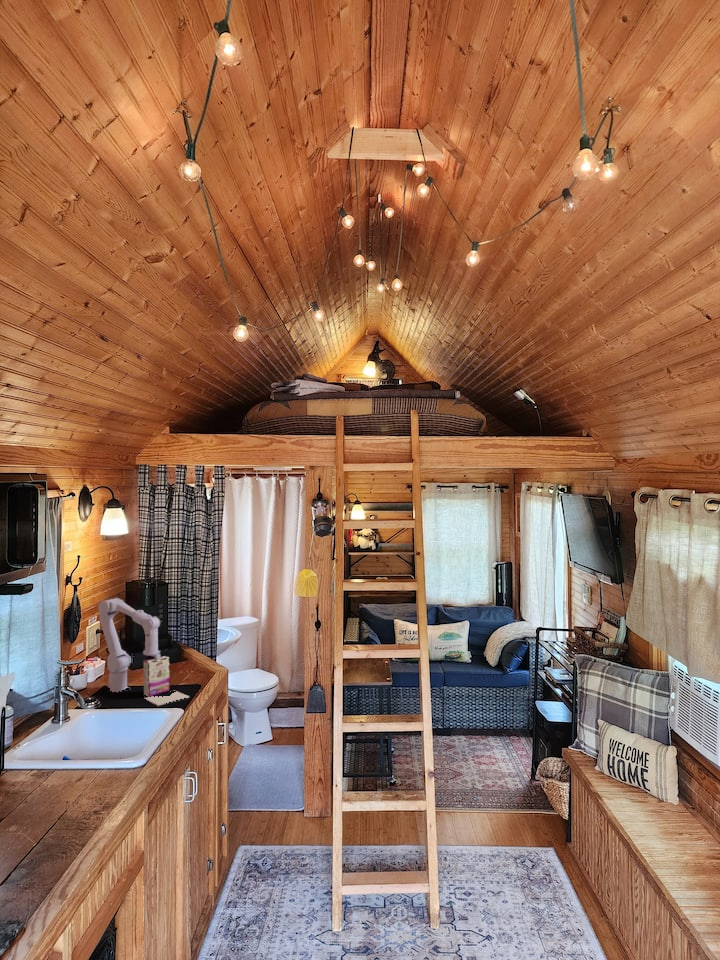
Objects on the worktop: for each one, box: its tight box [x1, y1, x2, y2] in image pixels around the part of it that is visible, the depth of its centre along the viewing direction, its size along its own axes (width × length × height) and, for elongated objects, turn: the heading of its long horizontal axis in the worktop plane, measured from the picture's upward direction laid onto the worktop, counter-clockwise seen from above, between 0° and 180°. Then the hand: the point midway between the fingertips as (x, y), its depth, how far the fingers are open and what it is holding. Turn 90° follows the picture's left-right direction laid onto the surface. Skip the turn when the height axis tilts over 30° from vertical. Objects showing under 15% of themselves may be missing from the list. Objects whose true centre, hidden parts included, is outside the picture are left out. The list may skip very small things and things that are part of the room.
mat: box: [143, 690, 190, 707], centre depth 262 cm, size 14×15×1 cm
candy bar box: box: [143, 655, 171, 697], centre depth 270 cm, size 11×5×16 cm, turn 141°
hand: (151, 671), depth 273 cm, fingers closed
